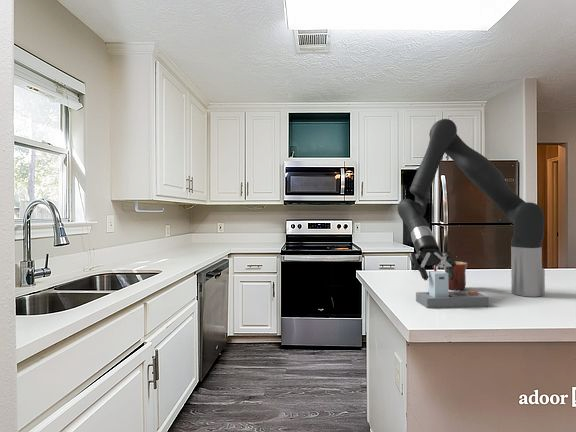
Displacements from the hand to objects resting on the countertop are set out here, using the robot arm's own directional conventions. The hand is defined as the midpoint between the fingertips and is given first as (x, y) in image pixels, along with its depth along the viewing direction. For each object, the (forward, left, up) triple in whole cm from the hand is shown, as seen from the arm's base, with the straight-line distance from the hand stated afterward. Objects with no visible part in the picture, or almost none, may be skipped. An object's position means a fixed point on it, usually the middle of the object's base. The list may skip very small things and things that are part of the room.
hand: (439, 278), depth 118 cm
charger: (0, 0, -8) cm, 8 cm away
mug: (-15, -22, -9) cm, 28 cm away
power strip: (-4, 0, -8) cm, 9 cm away
